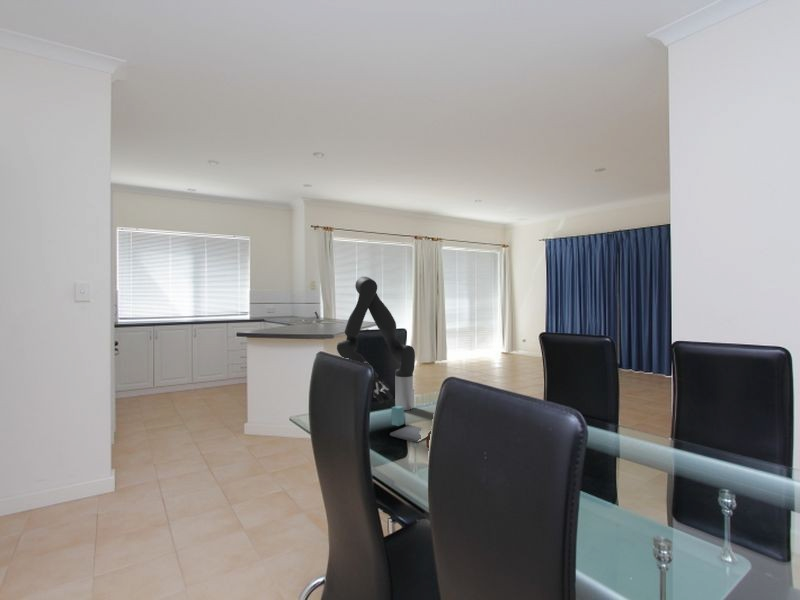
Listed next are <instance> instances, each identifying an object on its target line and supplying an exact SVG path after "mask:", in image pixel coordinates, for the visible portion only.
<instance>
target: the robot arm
mask: <svg viewBox="0 0 800 600" xmlns="http://www.w3.org/2000/svg"><path fill="white" fill-rule="evenodd" d="M376 282H377V281H375V280H374V279H372V278H370V277H368V276H361V277H359V278H358V277H357V280H356V281H355V285H354V286H355V290H356V292H357V294H358V299H357V302H356V305H355V306H354V309H353V311H352V312H351V314H350V316H349V317H348V320H347V323H346V326H345V330H344V334H345V335H346V340H341V341H338V343H337V345H336V351H337V353H338V355H339V356H340V357H341V358H342V357H344V358H350V359H352V360H357V361H361V362H364V363H368V361H367V360H366V359H365V358H364V356H363V355H362V354H361V353H358V352H356V351H357V349H358V344H359V343H358V342H359V334H360V331H361V328H362V325H363V323H364V320H365V317H366V314H367V312H368V311H369V313H370V315H371V317H372V319H373V321H374V323H375V325H376V327H377V329H378V330H379V331H380V333H381V335H382V336H383V339H384V341H385V343H386V344H387V347H388V349H389V352H390V354H391V356H392V358H393V359H394V361H396V362H397V363H398V362H399V363H400V367H399V368H396V370H395V371H394V372H395V374H394V376H395V379H394V380H395V382H394V383H395V387H394V388H395V390H394V391H395V399H394V400H395V402H394V403H395V405H394V406H397V405H398V406H402V407H404V411H411V410H413V409H414V407H415V390H414V372H415V363H416V362H415V361H416V353H415V349H414V347H413V346H412V345H407V344H402V342H401V341H400V339H399V337H398V334H397V323H396V320H395V318H394V317H393V314H392V313H391V311H390V310H389V309H388V307H387V306H386V305H385V304H384V302H383V301H382V300H381V298H380V296H379V295H378V293H377V291H378V284H377V283H376ZM344 358H343V359H344ZM378 378H379V374H378V373H377V372H376V371H375V382H374V390H373V397H372V398H375V399H376V400H377V401H378V402H379V404H383V403H384V402H385V400H384V397H382V395H381V394H380V393H379V392H382V393H384V394H385V396H386V397H387V398H388V400H392V399H393V398H394V395H393V394H392V393H391V392H390V389H391V387H390V386H389V385H388V383H387V382H386V381H385V380H384V379H383V378H381V380H379V379H378ZM412 408H413V409H412ZM410 409H411V410H410Z"/></svg>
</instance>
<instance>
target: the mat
mask: <svg viewBox="0 0 800 600" xmlns="http://www.w3.org/2000/svg"><path fill="white" fill-rule="evenodd" d="M422 428H423V427H420V426H415V425H412V424H409V425H406V426H404V427H401V428H399V429H397V430H394V431H392V432H390V433H389V436H391V437H394V438H398V439H402V440H406V441H408V442H412V441H418V440H419V439H421V435H420V434H419V431H421V429H422Z"/></svg>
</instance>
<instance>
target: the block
mask: <svg viewBox="0 0 800 600" xmlns="http://www.w3.org/2000/svg"><path fill="white" fill-rule="evenodd" d="M404 415H405V410H404V407H402V406H398V405H397V406H395V405H394V406H391V425H392V426H396V427H400V426H402V425H404V424H405V416H404Z"/></svg>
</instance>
